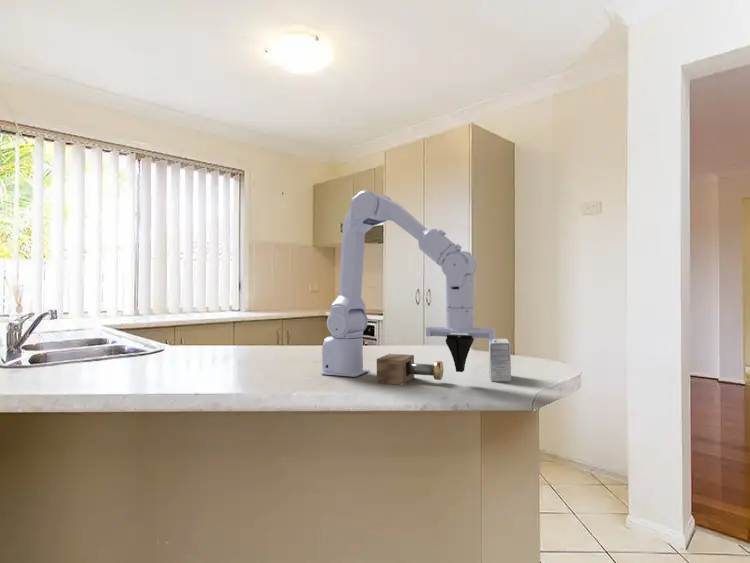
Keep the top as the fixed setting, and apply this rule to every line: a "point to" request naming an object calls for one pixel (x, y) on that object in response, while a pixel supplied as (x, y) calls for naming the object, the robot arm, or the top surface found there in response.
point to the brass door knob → (426, 369)
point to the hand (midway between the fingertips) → (460, 371)
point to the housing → (394, 369)
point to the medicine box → (499, 360)
